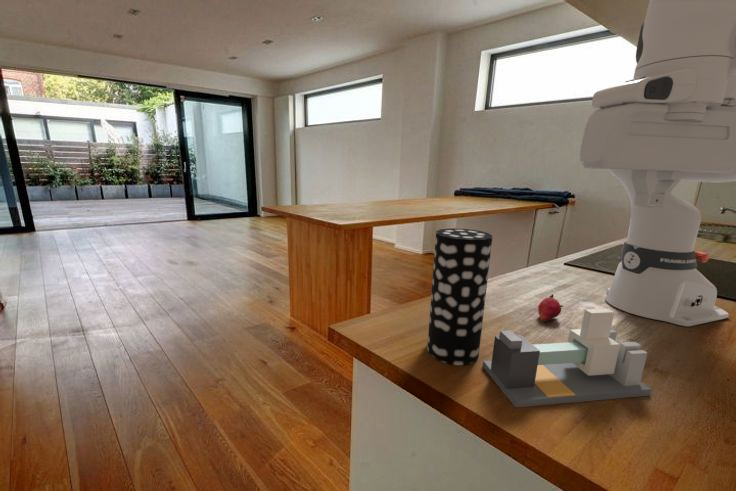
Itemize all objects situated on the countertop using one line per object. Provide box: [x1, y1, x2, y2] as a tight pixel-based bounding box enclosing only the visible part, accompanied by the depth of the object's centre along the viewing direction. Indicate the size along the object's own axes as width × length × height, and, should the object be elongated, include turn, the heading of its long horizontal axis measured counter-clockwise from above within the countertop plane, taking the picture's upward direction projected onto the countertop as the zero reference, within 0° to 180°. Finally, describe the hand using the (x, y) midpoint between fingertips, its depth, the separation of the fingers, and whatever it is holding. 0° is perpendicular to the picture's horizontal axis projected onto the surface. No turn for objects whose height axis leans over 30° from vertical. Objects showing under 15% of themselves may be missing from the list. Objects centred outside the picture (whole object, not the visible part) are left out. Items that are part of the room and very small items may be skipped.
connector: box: [491, 329, 540, 389], centre depth 47 cm, size 4×4×7 cm
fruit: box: [537, 294, 564, 322], centre depth 68 cm, size 4×6×5 cm
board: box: [482, 359, 652, 408], centre depth 49 cm, size 20×9×1 cm, turn 99°
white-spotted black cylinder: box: [427, 227, 493, 366], centre depth 54 cm, size 8×8×20 cm
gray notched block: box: [608, 328, 648, 386], centre depth 50 cm, size 2×7×6 cm, turn 9°
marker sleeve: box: [567, 308, 620, 376], centre depth 48 cm, size 4×5×9 cm
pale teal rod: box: [533, 341, 588, 365], centre depth 48 cm, size 16×2×2 cm, turn 99°
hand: (649, 206), depth 44 cm, fingers closed
